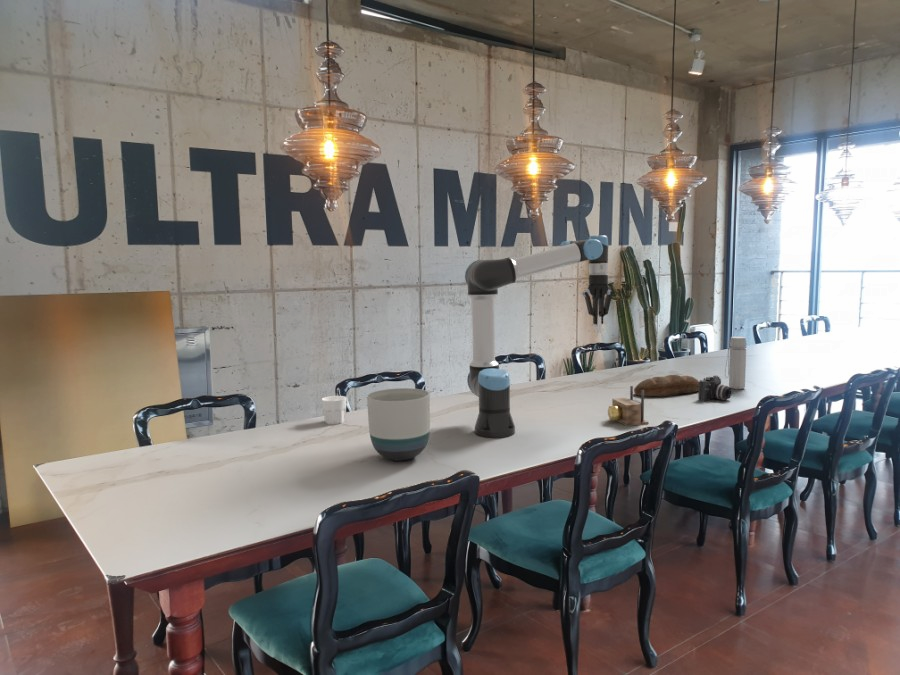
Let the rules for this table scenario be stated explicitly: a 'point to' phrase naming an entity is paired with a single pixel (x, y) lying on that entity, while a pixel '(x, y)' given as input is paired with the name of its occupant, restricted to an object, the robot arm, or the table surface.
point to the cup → (334, 409)
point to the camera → (713, 389)
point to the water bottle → (737, 363)
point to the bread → (667, 386)
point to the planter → (399, 422)
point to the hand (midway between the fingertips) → (598, 332)
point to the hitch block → (631, 409)
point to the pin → (615, 413)
